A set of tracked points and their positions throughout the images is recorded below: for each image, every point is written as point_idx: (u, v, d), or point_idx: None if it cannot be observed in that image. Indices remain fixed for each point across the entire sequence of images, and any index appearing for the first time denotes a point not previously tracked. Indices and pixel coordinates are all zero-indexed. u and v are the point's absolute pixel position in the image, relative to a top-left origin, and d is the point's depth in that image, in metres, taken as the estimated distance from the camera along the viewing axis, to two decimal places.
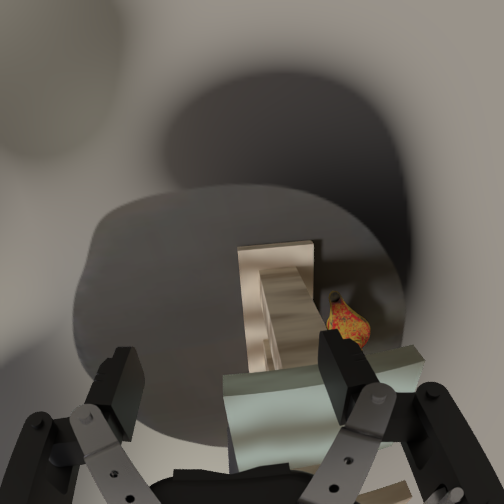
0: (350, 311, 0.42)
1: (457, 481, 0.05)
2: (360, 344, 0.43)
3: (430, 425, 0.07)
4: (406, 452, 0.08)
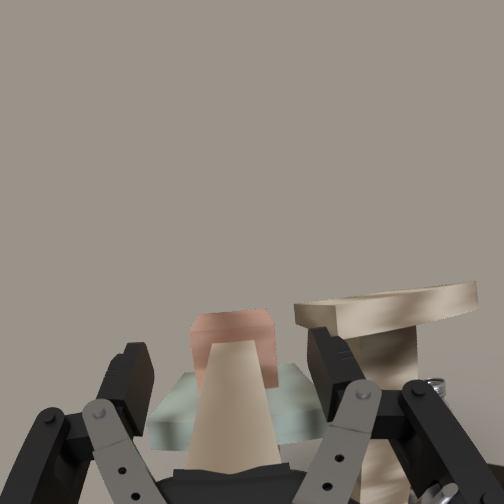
0: None
1: (450, 477, 0.05)
2: None
3: (418, 423, 0.07)
4: (395, 451, 0.09)
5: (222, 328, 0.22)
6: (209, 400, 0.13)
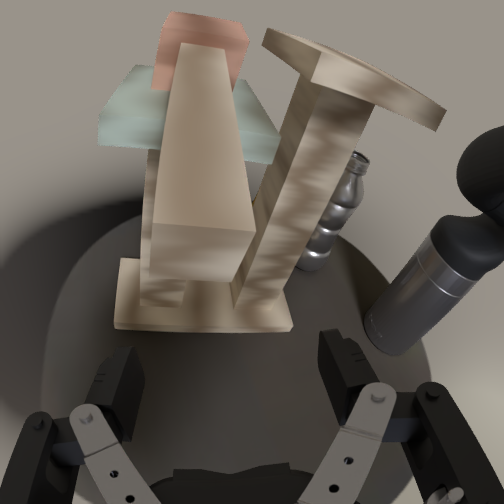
0: None
1: (457, 481, 0.05)
2: None
3: (430, 425, 0.07)
4: (406, 453, 0.08)
5: (196, 30, 0.17)
6: (179, 100, 0.12)
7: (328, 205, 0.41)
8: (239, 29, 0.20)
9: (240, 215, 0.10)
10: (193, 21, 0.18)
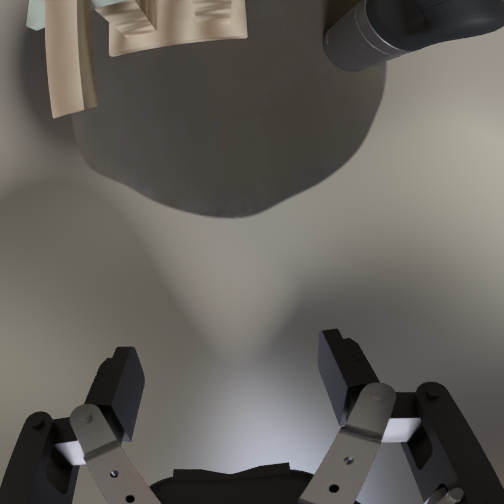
0: None
1: (457, 481, 0.05)
2: None
3: (430, 425, 0.07)
4: (406, 453, 0.08)
5: None
6: (50, 36, 0.16)
7: None
8: None
9: (78, 104, 0.20)
10: None
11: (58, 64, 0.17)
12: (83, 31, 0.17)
